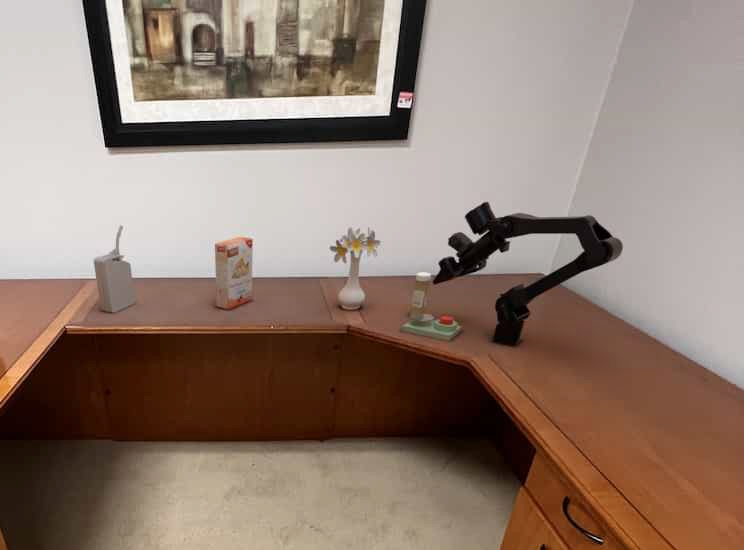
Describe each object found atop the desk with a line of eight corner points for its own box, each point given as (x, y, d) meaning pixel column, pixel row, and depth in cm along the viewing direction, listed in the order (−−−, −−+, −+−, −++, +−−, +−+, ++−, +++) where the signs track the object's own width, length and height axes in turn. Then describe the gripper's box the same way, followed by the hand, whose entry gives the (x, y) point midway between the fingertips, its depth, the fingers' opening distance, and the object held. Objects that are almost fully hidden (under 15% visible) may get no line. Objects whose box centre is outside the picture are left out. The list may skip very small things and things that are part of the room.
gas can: (129, 299, 204) (119, 224, 189) (139, 301, 202) (130, 225, 187) (101, 311, 193) (88, 232, 178) (112, 313, 191) (100, 234, 176)
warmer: (460, 331, 172) (463, 320, 170) (449, 341, 166) (451, 329, 164) (414, 322, 180) (416, 311, 178) (401, 331, 173) (403, 319, 171)
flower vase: (320, 311, 190) (326, 231, 175) (346, 298, 201) (354, 222, 187) (354, 318, 183) (363, 236, 168) (379, 304, 195) (389, 226, 180)
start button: (453, 323, 169) (454, 317, 168) (449, 326, 167) (450, 320, 166) (442, 321, 171) (443, 315, 170) (437, 324, 169) (438, 318, 168)
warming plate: (437, 316, 173) (437, 315, 173) (428, 323, 169) (428, 322, 168) (415, 312, 177) (415, 311, 177) (405, 318, 172) (406, 317, 172)
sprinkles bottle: (426, 316, 184) (434, 274, 176) (417, 319, 182) (424, 276, 174) (416, 312, 187) (423, 271, 179) (406, 315, 185) (413, 273, 177)
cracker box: (229, 310, 192) (227, 245, 179) (215, 307, 195) (213, 243, 182) (253, 300, 201) (253, 237, 188) (240, 297, 204) (239, 235, 191)
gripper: (487, 219, 165) (446, 253, 178) (451, 228, 155) (411, 262, 169) (504, 252, 165) (463, 283, 178) (470, 263, 155) (428, 295, 168)
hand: (441, 280), depth 173 cm, fingers open, 9 cm apart
